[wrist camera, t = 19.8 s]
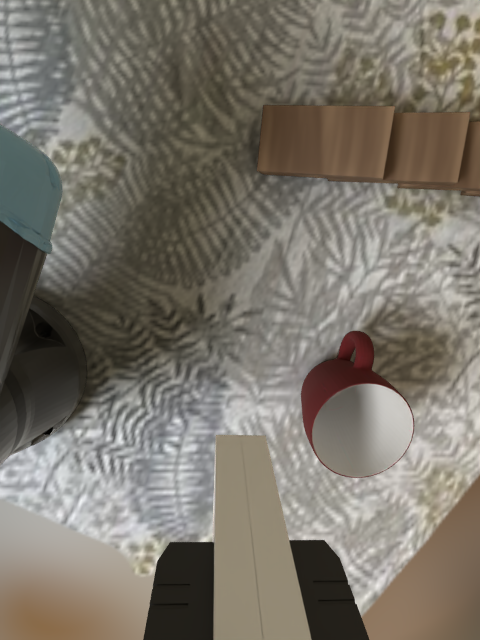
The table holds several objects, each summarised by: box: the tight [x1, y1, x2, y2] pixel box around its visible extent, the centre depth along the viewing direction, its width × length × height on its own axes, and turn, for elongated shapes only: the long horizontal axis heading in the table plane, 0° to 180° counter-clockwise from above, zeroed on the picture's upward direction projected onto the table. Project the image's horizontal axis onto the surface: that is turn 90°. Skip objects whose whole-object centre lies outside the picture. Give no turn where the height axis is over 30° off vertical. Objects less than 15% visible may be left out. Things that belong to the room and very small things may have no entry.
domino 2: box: [327, 112, 470, 185], centre depth 33 cm, size 2×5×10 cm
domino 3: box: [397, 122, 480, 191], centre depth 33 cm, size 2×5×10 cm
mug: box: [301, 331, 414, 478], centre depth 35 cm, size 10×8×10 cm
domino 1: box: [257, 105, 395, 181], centre depth 32 cm, size 2×5×10 cm
